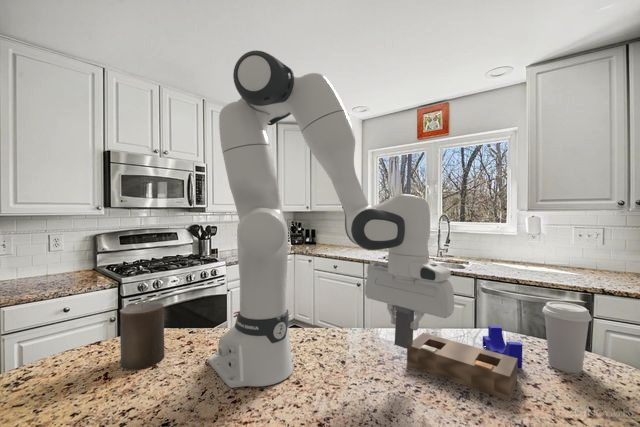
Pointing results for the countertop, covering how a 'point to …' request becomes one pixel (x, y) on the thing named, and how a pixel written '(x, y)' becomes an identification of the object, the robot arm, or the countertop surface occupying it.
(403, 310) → the plug
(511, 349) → the cable clip
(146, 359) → the pillar candle
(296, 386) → the countertop surface
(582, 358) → the coffee cup
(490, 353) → the socket block
